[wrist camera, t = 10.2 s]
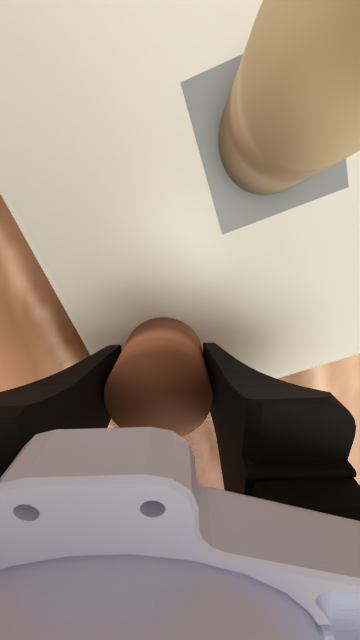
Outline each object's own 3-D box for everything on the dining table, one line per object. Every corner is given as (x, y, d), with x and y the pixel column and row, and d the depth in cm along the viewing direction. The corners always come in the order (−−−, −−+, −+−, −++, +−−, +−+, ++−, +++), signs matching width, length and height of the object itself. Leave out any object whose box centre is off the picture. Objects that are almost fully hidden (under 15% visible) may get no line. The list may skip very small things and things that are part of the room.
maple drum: (197, 131, 9) (210, 53, 5) (285, 37, 8) (374, -136, 5) (257, 216, 10) (303, 200, 7) (341, 141, 9) (451, 72, 6)
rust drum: (109, 351, 13) (81, 397, 9) (164, 301, 12) (158, 328, 8) (163, 397, 14) (158, 456, 10) (217, 354, 13) (234, 401, 9)
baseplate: (-110, -28, 8) (-141, -58, 7) (319, -284, 7) (339, -355, 6) (131, 414, 15) (128, 423, 14) (369, 341, 14) (381, 347, 13)
